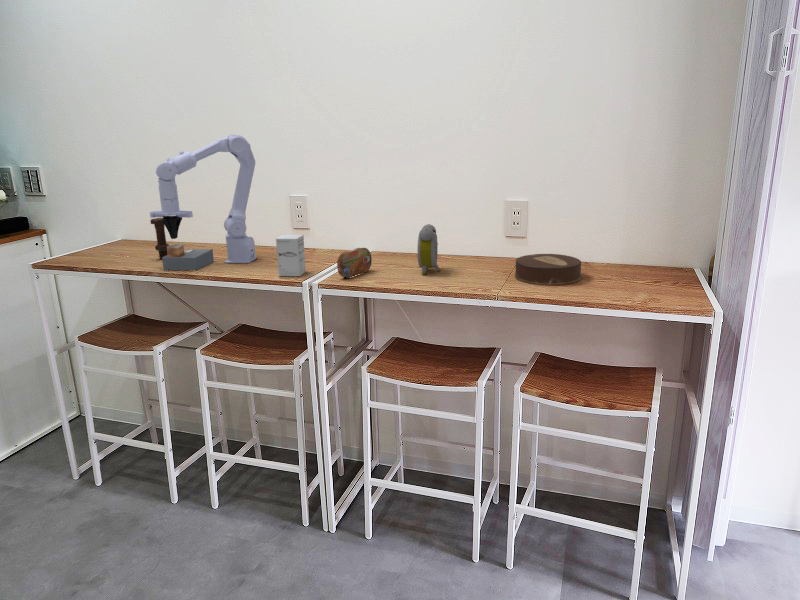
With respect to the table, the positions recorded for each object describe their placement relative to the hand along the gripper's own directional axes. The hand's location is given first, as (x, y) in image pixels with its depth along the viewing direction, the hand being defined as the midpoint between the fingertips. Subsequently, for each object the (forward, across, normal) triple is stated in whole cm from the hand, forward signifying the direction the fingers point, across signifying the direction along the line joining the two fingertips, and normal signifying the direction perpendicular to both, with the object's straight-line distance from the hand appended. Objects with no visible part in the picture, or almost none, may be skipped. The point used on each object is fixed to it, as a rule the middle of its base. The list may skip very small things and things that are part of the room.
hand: (174, 238), depth 218 cm
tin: (+11, +65, -6) cm, 66 cm away
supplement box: (+11, +44, -6) cm, 45 cm away
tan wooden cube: (+10, 0, +7) cm, 12 cm away
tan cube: (+7, 0, 0) cm, 7 cm away
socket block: (+10, +3, +3) cm, 11 cm away
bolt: (+11, -12, +13) cm, 21 cm away
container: (+11, +125, -6) cm, 126 cm away
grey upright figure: (+10, +89, -1) cm, 89 cm away
